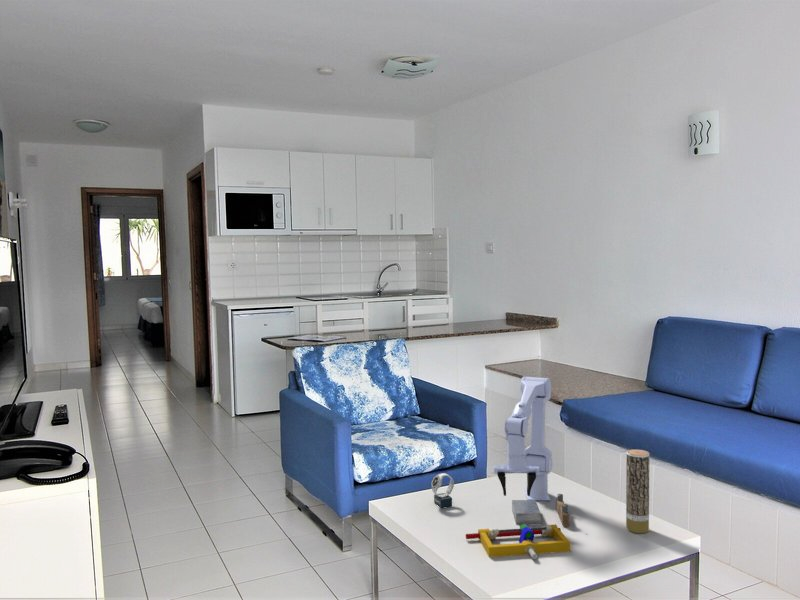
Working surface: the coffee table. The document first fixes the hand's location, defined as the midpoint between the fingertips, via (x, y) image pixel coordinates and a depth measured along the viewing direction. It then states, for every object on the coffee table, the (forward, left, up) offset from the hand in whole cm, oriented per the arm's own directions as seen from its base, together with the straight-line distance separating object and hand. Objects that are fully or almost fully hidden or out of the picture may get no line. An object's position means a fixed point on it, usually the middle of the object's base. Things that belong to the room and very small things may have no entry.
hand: (516, 494), depth 221 cm
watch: (-14, -25, -9) cm, 30 cm away
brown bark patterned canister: (+5, +37, -9) cm, 39 cm away
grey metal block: (-4, +3, -10) cm, 11 cm away
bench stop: (-4, +15, -9) cm, 18 cm away
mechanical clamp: (+19, -1, -10) cm, 22 cm away
